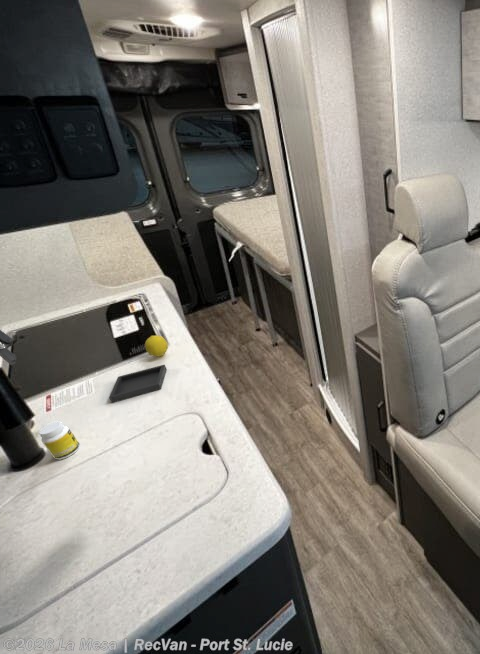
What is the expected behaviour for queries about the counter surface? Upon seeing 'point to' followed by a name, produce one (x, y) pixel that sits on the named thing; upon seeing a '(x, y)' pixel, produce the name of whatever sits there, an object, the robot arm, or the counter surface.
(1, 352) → the robot arm
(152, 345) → the lemon
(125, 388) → the dock pad
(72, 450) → the supplement bottle
